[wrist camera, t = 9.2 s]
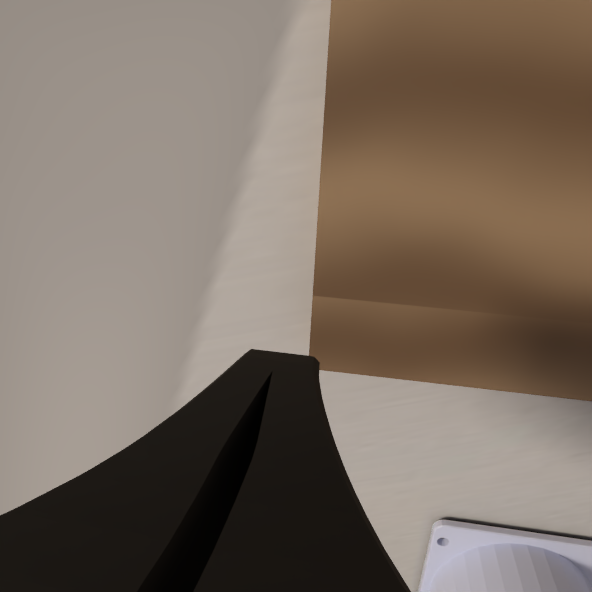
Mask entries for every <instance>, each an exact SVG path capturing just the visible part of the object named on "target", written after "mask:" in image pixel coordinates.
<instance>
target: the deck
mask: <svg viewBox="0 0 592 592" xmlns="http://www.w3.org/2000/svg"><path fill="white" fill-rule="evenodd" d="M309 356H313V357H315V358H316V359H317V360H318V361H319V362H320V367H319V370H325V371H334V372H343V373H351V374H360V375H369V376H377V377H386V378H395V379H403V380H412V381H421V382H429V383H438V384H447V385H455V386H464V387H473V388H481V389H490V390H499V391H508V392H516V393H525V394H534V395H542V396H551V397H560V398H568V399H577V400H586V401H592V0H331V15H330V31H329V46H328V62H327V78H326V94H325V110H324V126H323V142H322V158H321V174H320V190H319V206H318V222H317V238H316V253H315V269H314V285H313V301H312V317H311V333H310V349H309Z"/></svg>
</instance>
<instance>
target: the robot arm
mask: <svg viewBox="0 0 592 592" xmlns="http://www.w3.org/2000/svg"><path fill="white" fill-rule="evenodd" d="M319 367H320V362H319V361H318V360H317V359H316V358H315V357H313V356H305V355H297V354H288V353H280V352H271V351H263V350H255V349H251V350H249V351H248V352H247V353H245V354H244V355H243V356H242V357H241V358H240V359H239V360H237V361H236V362H235V363H234V364H233V365H232V366H231V367H230V368H228V369H227V370H226V371H225V372H224V373H223V374H222V375H221V376H219V377H218V378H217V379H216V380H215V381H214V382H212V383H211V384H210V385H209V386H208V387H207V388H205V389H204V390H203V391H202V392H201V393H199V394H198V395H197V396H196V397H194V398H193V399H192V400H191V401H190V402H188V403H187V404H186V405H185V406H183V407H182V408H181V409H180V410H178V411H177V412H176V413H174V414H173V415H172V416H170V417H169V418H168V419H166V420H165V421H163V422H162V423H161V424H159V425H158V426H157V427H155V428H154V429H153V430H151V431H150V432H148V433H147V434H146V435H144V436H143V437H141V438H140V439H139V440H137V441H136V442H134V443H133V444H131V445H129V446H128V447H126V448H125V449H123V450H122V451H120V452H119V453H117V454H115V455H113V456H112V457H110V458H109V459H107V460H105V461H104V462H102V463H100V464H99V465H97V466H95V467H94V468H92V469H90V470H88V471H87V472H85V473H83V474H81V475H80V476H78V477H76V478H74V479H72V480H70V481H68V482H66V483H64V484H62V485H60V486H58V487H56V488H54V489H52V490H51V491H49V492H47V493H45V494H43V495H41V496H39V497H37V498H35V499H33V500H31V501H29V502H27V503H25V504H23V505H21V506H20V507H18V508H15V509H14V510H11V511H9V512H7V513H5V514H3V515H0V592H411V591H410V590H409V588H408V586H407V585H406V583H405V582H404V580H403V578H402V577H401V575H400V573H399V572H398V570H397V569H396V567H395V565H394V564H393V562H392V560H391V559H390V557H389V556H388V554H387V552H386V551H385V549H384V547H383V545H382V544H381V542H380V540H379V538H378V536H377V534H376V533H375V531H374V529H373V527H372V525H371V523H370V521H369V519H368V518H367V516H366V514H365V512H364V510H363V507H362V505H361V503H360V501H359V499H358V497H357V495H356V493H355V491H354V489H353V486H352V484H351V482H350V480H349V477H348V475H347V473H346V470H345V468H344V465H343V463H342V460H341V457H340V455H339V452H338V450H337V447H336V444H335V441H334V438H333V435H332V432H331V429H330V426H329V422H328V419H327V415H326V412H325V408H324V404H323V400H322V395H321V389H320V383H319ZM418 592H592V541H590V540H583V539H576V538H569V537H562V536H555V535H548V534H541V533H534V532H527V531H521V530H514V529H507V528H500V527H493V526H486V525H479V524H472V523H465V522H458V521H451V520H438V521H436V522H435V523H434V524H433V526H432V531H431V535H430V540H429V544H428V548H427V553H426V557H425V562H424V566H423V571H422V575H421V580H420V584H419V588H418Z"/></svg>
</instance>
